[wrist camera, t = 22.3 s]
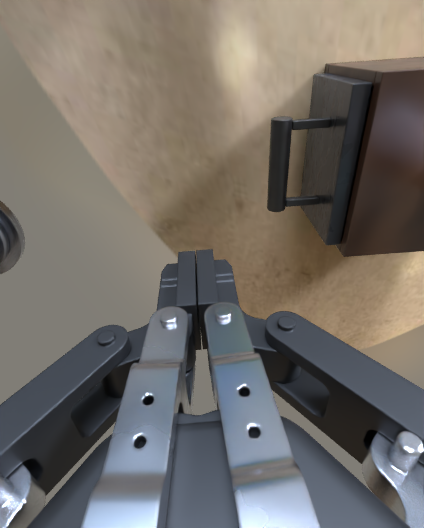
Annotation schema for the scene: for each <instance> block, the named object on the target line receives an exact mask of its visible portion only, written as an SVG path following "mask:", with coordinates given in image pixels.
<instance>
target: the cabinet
mask: <svg viewBox="0 0 424 528" xmlns="http://www.w3.org/2000/svg"><path fill="white" fill-rule="evenodd" d="M325 73H329V74H334V75H338V76H343V77H348V78H353V79H358V80H362V81H367V82H372V86H374V88H373V93H372V98H371V103H370V108H369V113H368V118H367V123H366V127H365V132H364V137H363V142H362V147H361V152H360V157H359V162H358V167H357V171H356V176H355V181H354V186H353V191H352V196H351V201H350V206H349V211H348V215H347V220H346V221H345V222H344V227H343V232H342V237H341V242H340V244H338V245H336V247H337V248H338V249H339V251H340V252H341V254H342V255H343V256H344V257H348V256H361V255H375V254H389V253H402V252H416V251H424V57H414V58H400V59H386V60H372V61H358V62H343V63H329V64H326V67H325Z"/></svg>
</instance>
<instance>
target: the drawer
mask: <svg viewBox="0 0 424 528" xmlns="http://www.w3.org/2000/svg"><path fill="white" fill-rule="evenodd" d="M373 88H374V86H372V82H367V81H362V80H358V79H353V78H348V77H343V76H338V75H334V74H329V73H324V74H314V77H313V87H312V96H311V105H310V114H309V119H298V120H292V118H291V117H286V116H280V117H274V118H272V119H271V133H270V156H269V178H268V200H267V209H268V210H269V211H272V212H281V211H284V210H285V206H286V207H290V206H300V207H301V208H302V210H303V211H304V213H305V214H306V216H307V217H308V219H309V220H310V222H311V223H312V225H313V226H314V228H315V229H316V231H317V232H318V234H319V236H320V237H321V239H322V240H323V242H324V243H325V245H338V244H340V242H341V237H342V232H343V227H344V222H345V221H346V220H347V215H348V211H349V206H350V201H351V196H352V191H353V186H354V181H355V176H356V171H357V167H358V162H359V157H360V152H361V147H362V142H363V137H364V132H365V127H366V123H367V118H368V113H369V108H370V103H371V98H372V93H373ZM301 129H308V133H307V142H306V152H305V161H304V170H303V179H302V189H301V197H288V198H286V194H287V181H288V169H289V156H290V144H291V132H292V130H301Z"/></svg>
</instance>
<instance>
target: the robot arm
mask: <svg viewBox="0 0 424 528" xmlns="http://www.w3.org/2000/svg"><path fill="white" fill-rule="evenodd" d="M8 251H9V241H8V237H7V234H6V232H5V230H4V228H3V227H2V225H1V224H0V264H1V263H2V262H3V260H4V259H5V258H6V256H7V254H8ZM196 257H197V264H196ZM200 327H201V328H200ZM201 336H202V345H203V349H207V351H208V361H209V370H210V376H211V383H212V390H213V396H214V403H215V411H212V412H209V413H206V414H203V415H192V406H193V393H194V379H195V361H196V350H201ZM271 389H272V390H273V391H274V392H275V393H277V394H278V395H279V396H280V397H282V398H283V399H284V400H285V401H286V402H288V403H289V404H290V405H291V406H292V407H294V408H295V409H296V410H297V411H298V412H300V413H301V414H302V415H303V416H304V417H306V418H307V419H308V420H309V421H310V422H312V423H313V424H314V425H315V426H317V427H318V428H319V429H320V430H321V431H322V432H324V433H325V434H326V435H327V436H329V437H330V438H331V439H332V440H334V441H335V442H336V443H337V444H338V445H339V446H341V447H342V448H343V449H344V450H345V451H347V452H348V453H349V454H350V455H351V456H353V457H354V458H355V459H356V460H358V461H359V462H360V463H361V464H362V471H363V476H364V479H365V481H366V483H367V485H368V487H369V488H370V490H371V491H372V492H373V493H374V494H373V493H372V492H371V491H370V490H369V489H368V488H367V487H366V486H365V485H364V484H363V483H361V482H360V481H359V480H358V479H357V478H356V477H355V476H354V475H353V474H351V473H350V472H349V471H348V470H347V469H346V468H345V467H344V466H343V465H342V464H341V463H340V462H339V461H337V460H336V459H335V458H334V457H333V456H332V455H331V454H330V453H329V452H327V450H325V449H324V448H323V447H322V446H321V445H320V444H319V443H318V442H317V441H316V440H315V439H313V438H312V437H311V436H310V435H309V434H308V433H307V432H306V431H304V429H302V428H301V427H300V426H298V425H297V424H295V423H294V422H292V421H290V420H289V419H287V418H284V417H282V416H280V414H279V411H278V408H277V405H276V402H275V399H274V396H273V393H272V390H271ZM82 397H83V398H82ZM115 421H116V423H115V426H114V430H113V434H112V435H110V436H109V437H108V438H106V439H105V440H104V441H103V442H102V443H101V444H100V445H99V446H98V447H97V448H96V449H95V450H94V451H93V452H92V454H90V456H89V457H88V458H87V459H86V460H85V461H84V462H83V464H82V465H81V466H80V467H79V468H78V469H77V471H76V472H75V473H74V474H73V475H72V476H71V477H70V478H69V480H68V481H67V482H66V483H65V484H64V485H63V486H62V488H61V489H60V490H59V491H58V492H57V493H56V494H55V496H54V497H53V498H52V499H51V500H50V501H49V502H48V504H47V505H46V506H45V499H46V495H47V494H48V493H49V492H50V491H51V490H52V489H53V487H54V486H55V485H56V484H57V483H58V482H59V481H60V480H61V479H62V478H63V477H64V476H65V475H66V474H67V473H68V471H69V470H70V469H71V468H72V467H73V466H74V465H75V464H76V463H77V462H78V461H79V460H80V459H81V458H82V457H83V456H84V455H85V453H86V452H87V451H88V450H89V449H90V448H91V447H92V446H93V445H94V444H95V443H96V442H97V440H99V439H100V437H101V436H102V435H103V434H104V433H105V432H106V431H107V430H108V429H109V428H110V427H111V426H112V425H113V424H114V422H115ZM44 506H45V507H44ZM0 528H424V390H423V389H422V388H420V387H418V386H417V385H415V384H413V383H412V382H410V381H408V380H407V379H405V378H403V377H402V376H400V375H398V374H396V373H395V372H393V371H391V370H390V369H388V368H386V367H385V366H383V365H381V364H380V363H378V362H376V361H375V360H373V359H371V358H370V357H368V356H366V355H365V354H363V353H361V352H360V351H358V350H356V349H355V348H353V347H351V346H350V345H348V344H346V343H345V342H343V341H341V340H340V339H338V338H336V337H334V336H333V335H331V334H329V333H328V332H326V331H324V330H323V329H321V328H319V327H318V326H316V325H314V324H313V323H311V322H309V321H308V320H306V319H304V318H303V317H301V316H299V315H297V314H295V313H292V312H287V311H280V312H276V313H273V314H272V315H270V316H269V317H268V318H267V320H264V319H258V318H254V317H251V316H249V315H247V314H246V313H244V312H243V311H242V310H241V308H240V306H239V302H238V297H237V292H236V286H235V282H234V276H233V271H232V266H231V265H230V264H229V263H228V262H227V260H226V259H224V260H214V257H213V249H208V250H196V254H195V251H184V252H178V263H176V264H167V265H166V267H165V268H164V269H163V271H162V274H161V281H160V290H159V297H158V305H157V311H156V312H155V313H154V314H153V315H152V316H151V318H150V321H149V323H148V324H147V325H145V326H143V327H141V328H139V329H136V330H133V331H130V332H127V331H126V329H125V328H123V327H121V326H118V325H108V326H104V327H102V328H99V329H97V330H96V331H94V332H93V333H92V334H90V335H89V336H88V337H87V338H85V339H84V340H83V341H81V342H80V343H79V344H78V345H76V346H75V347H74V348H72V349H71V350H70V351H69V352H67V354H65V355H63V356H62V357H61V358H60V359H58V360H57V361H56V362H55V363H53V364H52V365H51V366H49V367H48V368H47V369H46V370H44V371H43V372H42V373H40V374H39V375H38V376H37V377H35V378H34V379H33V380H31V381H30V382H29V383H28V384H26V385H25V386H24V387H22V388H21V389H20V390H19V391H17V392H16V393H15V394H14V395H12V396H11V397H10V398H8V399H7V400H6V401H4V402H3V403H2V404H1V405H0Z"/></svg>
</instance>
